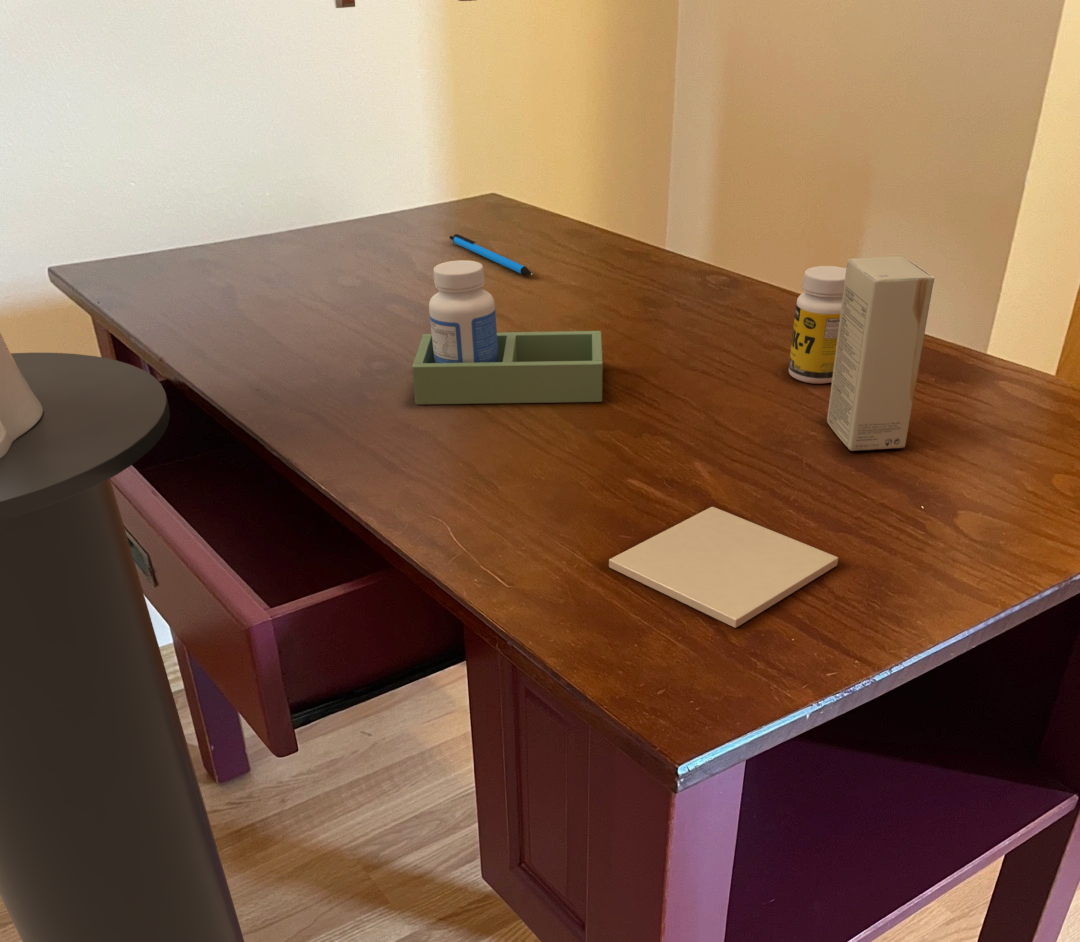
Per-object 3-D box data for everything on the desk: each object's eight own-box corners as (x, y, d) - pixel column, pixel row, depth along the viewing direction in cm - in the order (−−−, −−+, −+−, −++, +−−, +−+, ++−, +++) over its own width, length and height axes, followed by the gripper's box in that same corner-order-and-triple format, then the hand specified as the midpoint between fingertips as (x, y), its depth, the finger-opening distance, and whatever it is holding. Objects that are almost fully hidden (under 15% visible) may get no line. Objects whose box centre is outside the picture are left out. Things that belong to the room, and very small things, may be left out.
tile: (735, 628, 62) (736, 619, 61) (608, 567, 67) (608, 559, 67) (837, 565, 67) (838, 557, 67) (711, 514, 73) (712, 505, 72)
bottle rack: (602, 402, 89) (602, 363, 87) (415, 405, 89) (411, 366, 87) (600, 367, 95) (601, 330, 93) (426, 370, 96) (423, 333, 94)
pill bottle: (495, 372, 95) (489, 255, 89) (504, 394, 91) (498, 273, 85) (433, 377, 94) (422, 260, 88) (439, 400, 90) (428, 278, 84)
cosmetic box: (906, 450, 80) (939, 278, 72) (848, 454, 80) (875, 281, 72) (878, 416, 85) (906, 252, 78) (823, 420, 85) (846, 255, 77)
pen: (454, 240, 130) (453, 230, 129) (535, 277, 117) (535, 267, 116) (447, 241, 130) (447, 231, 129) (528, 279, 116) (528, 268, 116)
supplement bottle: (777, 369, 94) (789, 267, 89) (826, 362, 95) (840, 261, 90) (805, 388, 90) (818, 283, 85) (855, 380, 91) (871, 276, 86)
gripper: (231, -240, 70) (270, 15, 78) (539, -245, 73) (545, 0, 82) (230, -231, 75) (267, 7, 83) (519, -237, 78) (526, -7, 87)
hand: (407, 3), depth 83 cm, fingers open, 8 cm apart
